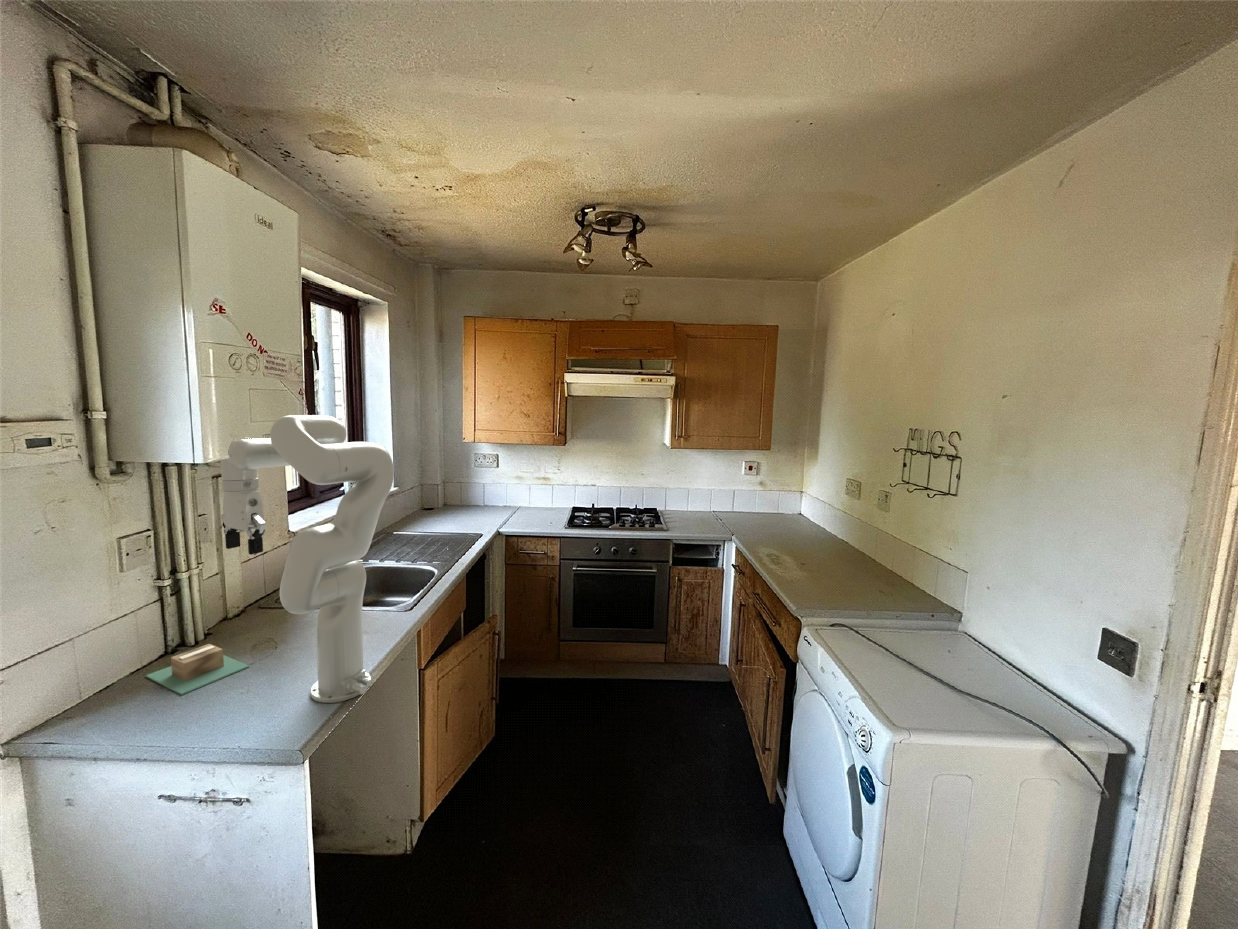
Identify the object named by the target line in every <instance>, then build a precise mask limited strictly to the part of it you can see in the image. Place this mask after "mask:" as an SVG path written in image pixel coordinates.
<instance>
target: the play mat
mask: <svg viewBox="0 0 1238 929" xmlns="http://www.w3.org/2000/svg"><path fill="white" fill-rule="evenodd" d="M223 660H224V666H223V667H220V668H218V669H215V670H213V671H210V672H208V673H205V674H203V675H200V676H198V677H195V678H193V679H190V680H188V681H184V680H182V679H179V678H177V677H175V676H173V675H172V667H171V665H170V666H167V667H164V668H162V669H160V670H155V671H153V672H151V673H149V674H146V675H145V677H146V678H147V679H149V680H151V681H154V682H155V683H157V684H160V685H161V686H163V687H165V688H166V689H169V690H171V691H172V692H175V693H177V694H178V695H181V696H184V695H186V694H188V693H191V692H193V691H196V690H197V689H201V688H203V687H206V686H207V685H209V684H213V683H214V682H217V681H219V680H221V679H224V678H227V677H229V676H232V675H233V674H236V673H238V672H241V671H243V670H246V669H249V667H250V665H248V664H246V663H243V662H241V661H239V660H236V659H234V658H231V657H229V656H227V655H225V654H223Z"/></svg>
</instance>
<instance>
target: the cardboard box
mask: <svg viewBox="0 0 1238 929" xmlns="http://www.w3.org/2000/svg"><path fill="white" fill-rule="evenodd" d="M223 655H224V649H223V648H222V647H221V648H220V647H219V646H216V645H213V644H211V643H208V644H205V645H202V646H201V645H200V646H199V647H196V648H193V649H190V650H188V651H183V652H181V653H179V654H177V655H176V654H175V655H174V656H171V657H170V666H171V667H172V675H173V676H175V677H177V678H179V679H182V680H184V681H188V680H190V679H193V678H195V677H198V676H200V675H203V674H205V673H208V672H210V671H213V670H215V669H218V668H220V667H223V666H224V660H223Z"/></svg>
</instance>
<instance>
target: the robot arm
mask: <svg viewBox="0 0 1238 929" xmlns="http://www.w3.org/2000/svg"><path fill="white" fill-rule="evenodd" d="M269 431H270V432H269V437H262V438H260V437H259V438H252V437H247V438H248V439H241V440H234V441H232V442H231V444H230V446H229V449H228V455H229V457H230V458H228V459H225V460H222V461H221V460H220V471H221V473H220V474H221V488H222V490H221V491H222V494H223V498H222V503H223V504H222V511H223V512H222V514H221V515H220V518H221V519H220V520H221V521H222V522H221V523H222V525H221V526H222V527H223V534H224V536H225V537H224V538H225V540H224V541H225V548H226V549H227V550H230V549H235V548H239V547H241V532H246V534H247V535H248V539H247V548H248V555H255V554H259V553H263V552H264V545H263V544H264V542H263V538H264V534H265V531H266V530H265V529H266V526H267V525H266V524H267V522H266V521H265V513H264V506H263V499H262V495H261V493H260V486H259V485H260V482H259V470H260V469H261V470H262V469H267V468H268V469H269V468H277V467H278V468H279V467H288V466H291V467H292V468H293V469H294V470H295V471H296V472H297V473H298V474H299V475H300V476H302V477H303V478H304V479H305V480H306V481H307V482H309V483H311V484H314V485H319V486H327V485H335V484H342V483H350V482H355V483H354V484H353V485H352V486H351V487H350V488H349V489H348V490H347V491H346V492H345V494H343V497H342V498H340V501H339V503H338V505H337V510H336V513H335V516H334V518H333V519H332V521H330V522H328V523H326V524H325V523H324V524H322V525H316V526H312V527H309V528H306V529H304V530H301V531H300V532H299V533H298V534H296V536H295V537H294V539H292V541H291V543H290V547H289V549H288V554H287V557H286V561H285V564H284V565H285V566H284V569H283V572H282V576H281V581H280V586H279V599H280V603H281V605H282V607H283V609H284V610H285V611H287V612H288V613H290V614H294V615H303V614H308V613H310V612H313V611H316V610H318V612H317V616H316V619H315V620H316V621H315V635H316V636H315V638H316V640H315V641H316V664H317V666H316V667H317V681H315V683H313V684H312V685H311V688H310V692H309V693H310V698H312V700H314V701H316V702H319V703H323V704H324V703H325V704H331V703H339V702H340V703H341V702H344V701H348V700H351V699H353V698H355V697H357V696H359V695H363V694H365V693H366V692H367V690H368V689H369V688H370V686H371V685H372V683H373V681H372V678H371V675H370V673H368V672H367V671H366V669H364V636H363V604H364V603H363V601H364V594H365V588H366V584H367V572H366V569H365V566H364V563H362V562H361V561H360V559H361V558H364V556H365V555H366V554H367V553H368V551H369V550H370V546H371V544H372V541H373V538H374V535H375V531H376V527H377V525H378V521H379V519H380V518H379V517H380V516H381V512H382V509H383V507H384V504H385V502H386V501H387V498H388V496H389V494H390V491H391V489H392V486H393V482H394V477H395V468H394V462H393V459H392V456H391V455H390V453H389V451H388V450H387V449H386V448H385V447H383V446H382V445H380V444H379V443H374V442H370V441H369V442H368V441H350V442H345V441H346V439H347V429H346V427H345V425H344V424H343V423H342V421H340V420H339V419H337V418H335V417H334V416H330V415H321V414H319V415H318V414H316V415H315V414H312V415H310V414H309V415H306V414H305V415H304V414H303V415H301V414H299V415H297V414H296V415H293V414H292V415H285V416H282V417H279V418H278V419H277V420H276V421H274V422H273V424H272V426H271V427H270V430H269ZM249 438H250V439H249ZM251 438H252V439H251Z"/></svg>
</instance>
